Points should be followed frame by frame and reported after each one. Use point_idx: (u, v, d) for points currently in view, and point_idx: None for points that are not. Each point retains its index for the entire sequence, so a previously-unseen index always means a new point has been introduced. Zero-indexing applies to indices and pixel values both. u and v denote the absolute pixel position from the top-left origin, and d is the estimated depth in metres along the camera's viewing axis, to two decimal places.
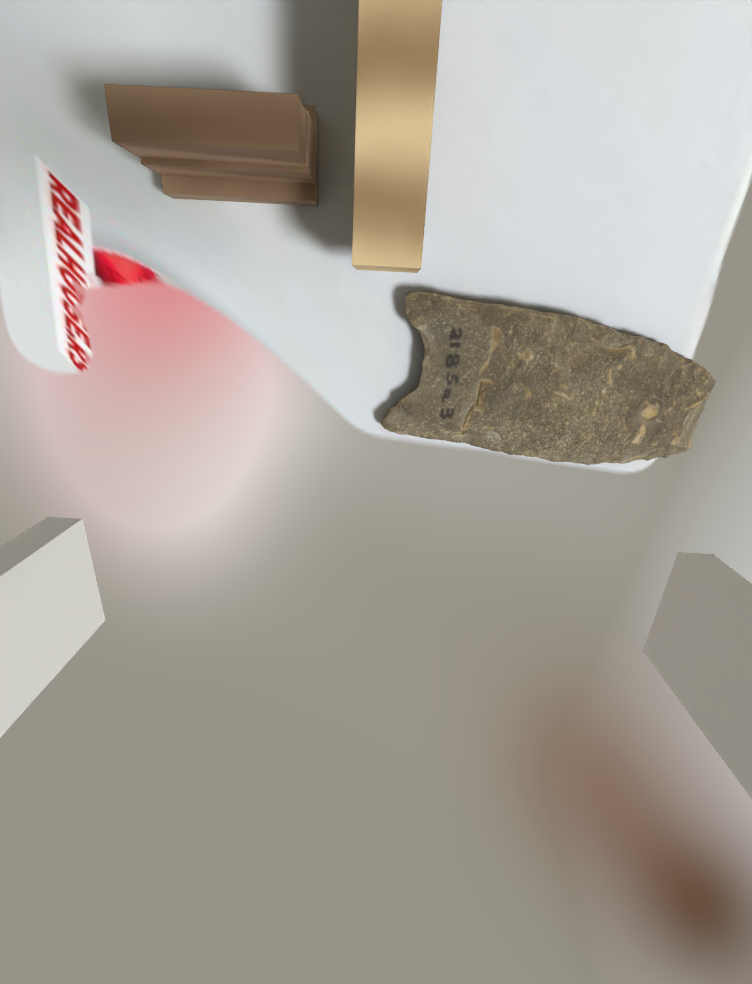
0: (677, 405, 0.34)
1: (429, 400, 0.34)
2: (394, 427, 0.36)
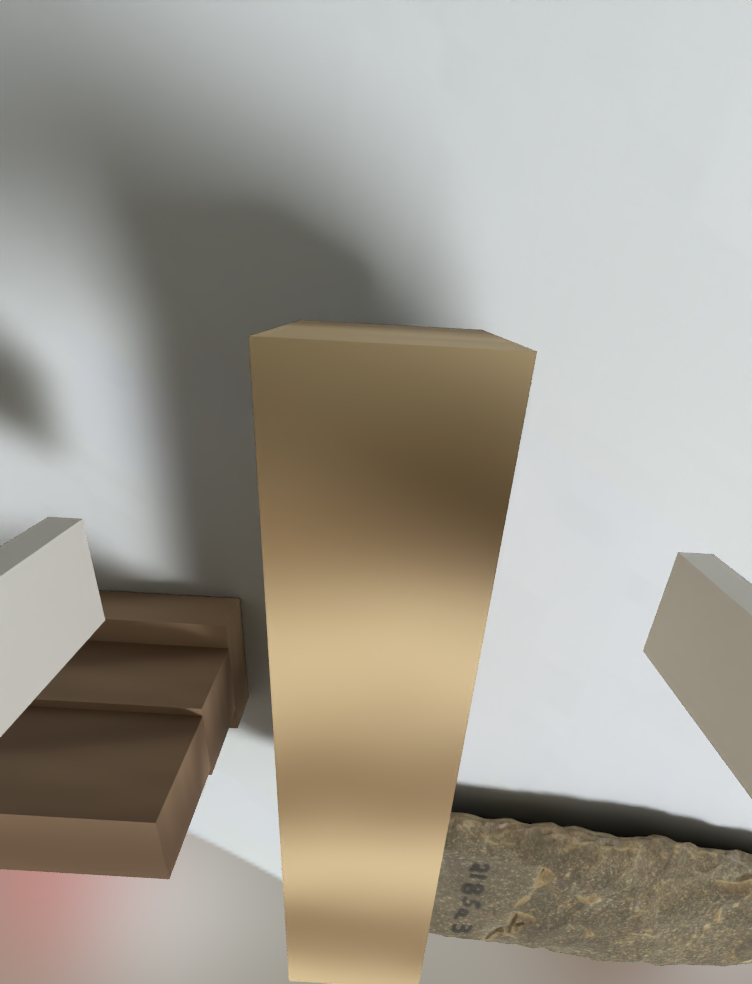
0: None
1: (435, 912, 0.22)
2: None
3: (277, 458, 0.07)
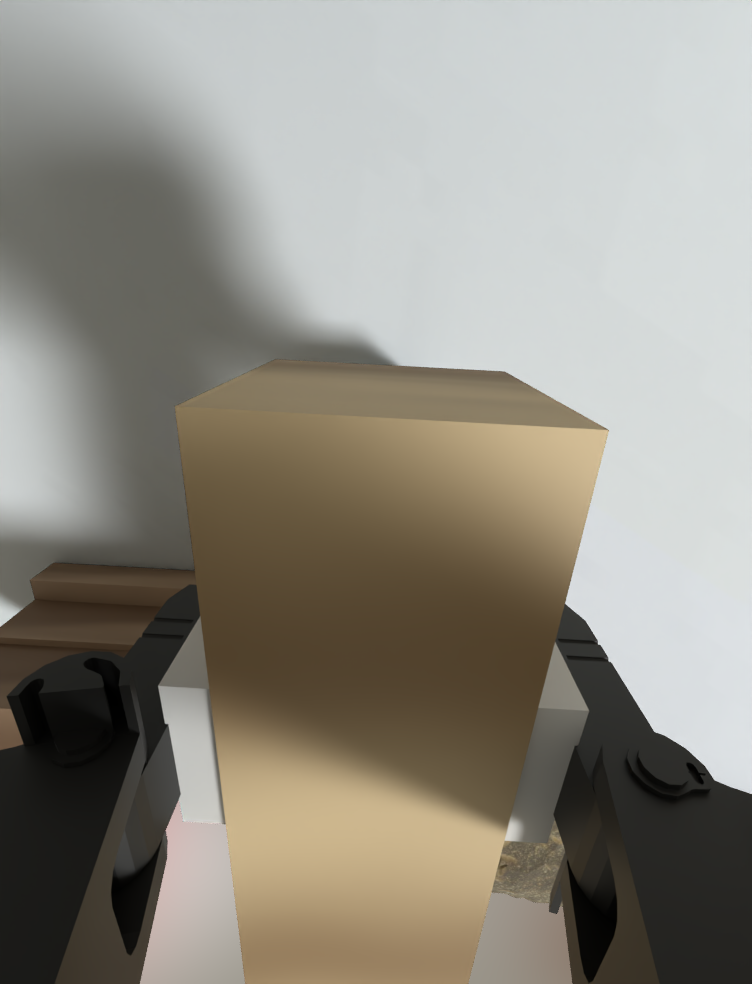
0: None
1: None
2: None
3: (226, 573, 0.05)
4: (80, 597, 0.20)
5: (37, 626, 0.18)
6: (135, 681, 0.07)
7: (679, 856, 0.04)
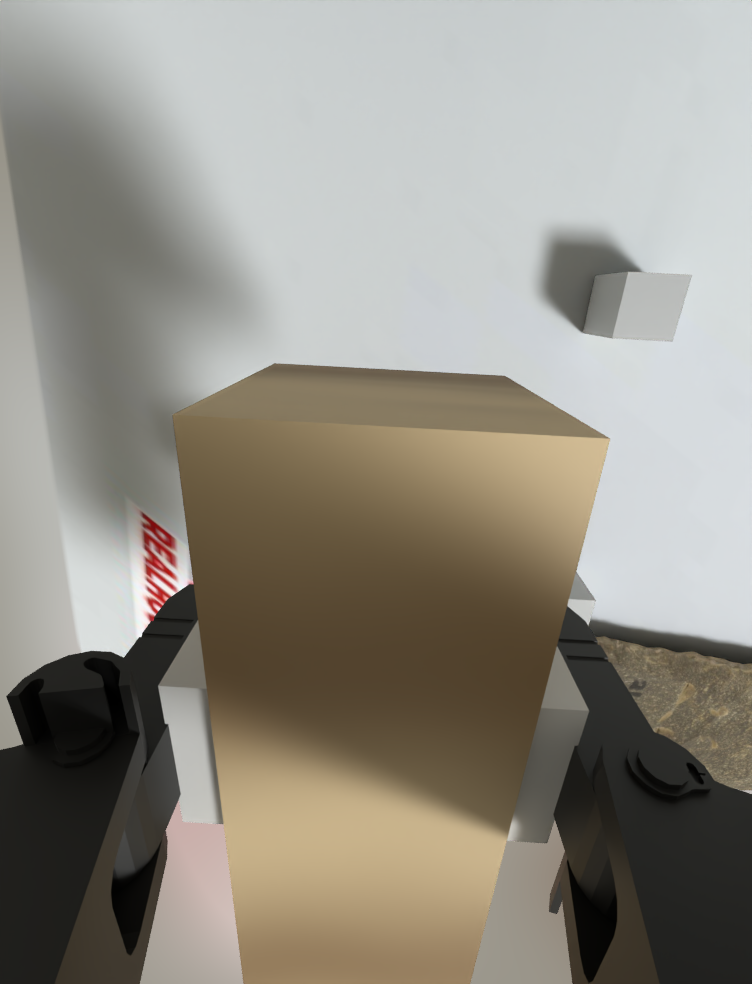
0: None
1: None
2: None
3: (224, 581, 0.05)
4: None
5: None
6: (135, 681, 0.07)
7: (679, 856, 0.04)
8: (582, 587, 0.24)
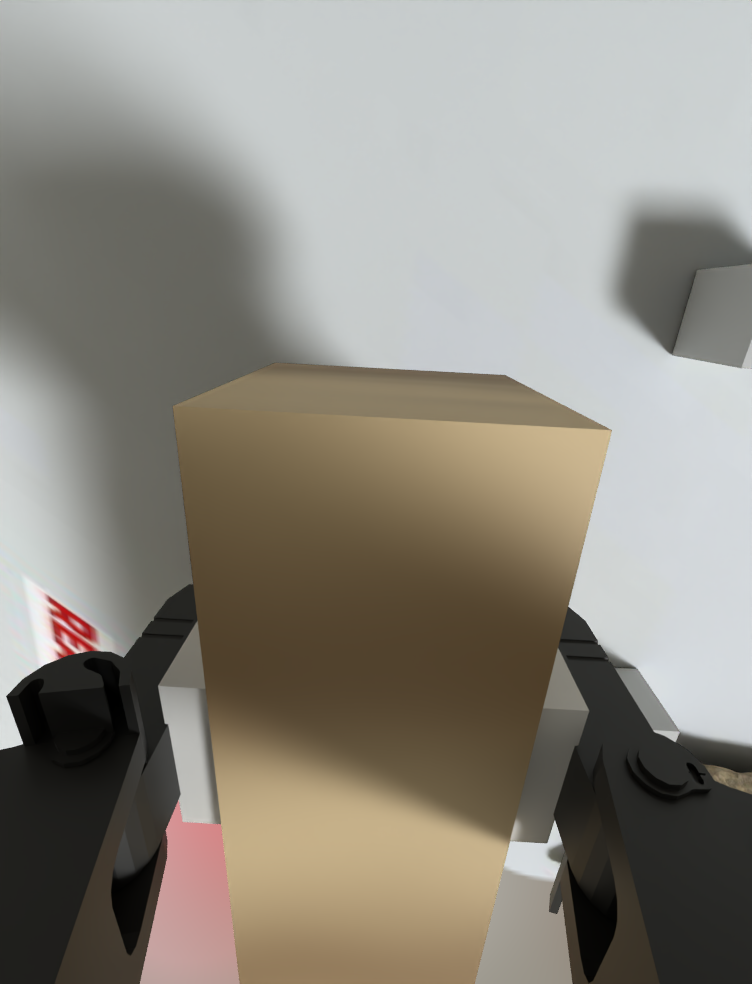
0: None
1: None
2: None
3: (223, 576, 0.05)
4: None
5: None
6: (135, 681, 0.07)
7: (679, 856, 0.04)
8: (656, 706, 0.17)
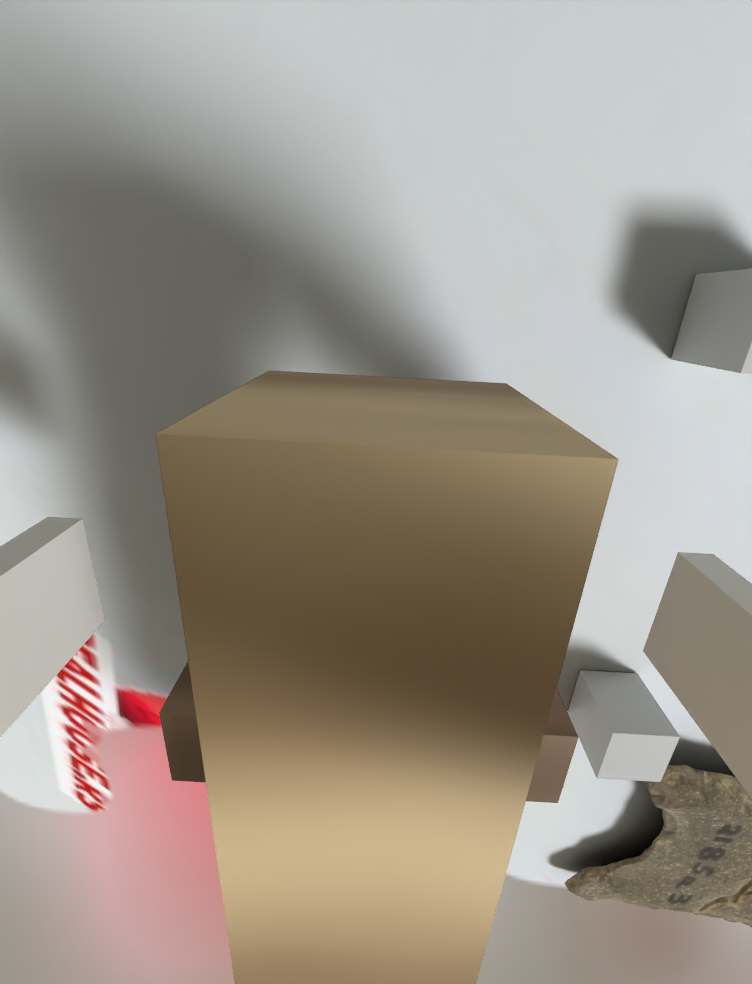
0: None
1: (655, 881, 0.22)
2: (588, 898, 0.23)
3: (212, 605, 0.05)
4: None
5: None
6: None
7: None
8: (656, 710, 0.17)
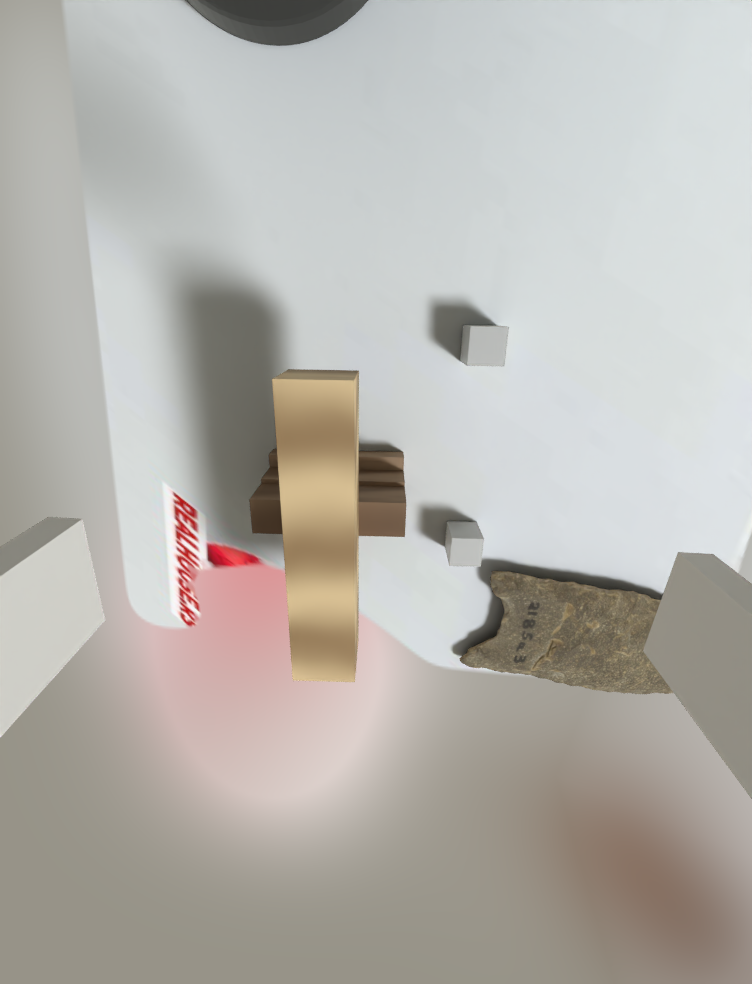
0: None
1: (505, 648, 0.40)
2: (472, 665, 0.41)
3: (281, 415, 0.23)
4: None
5: None
6: None
7: None
8: (478, 532, 0.35)
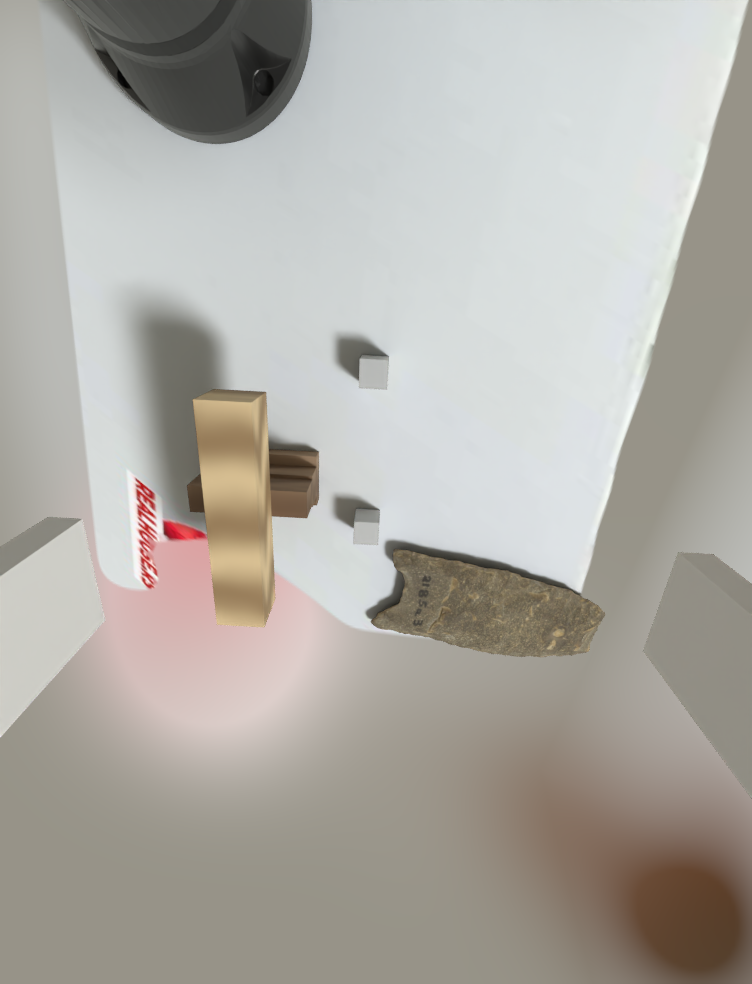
0: (577, 630, 0.48)
1: (406, 613, 0.49)
2: (380, 626, 0.50)
3: (200, 425, 0.31)
4: None
5: None
6: None
7: None
8: (377, 517, 0.44)
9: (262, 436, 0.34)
